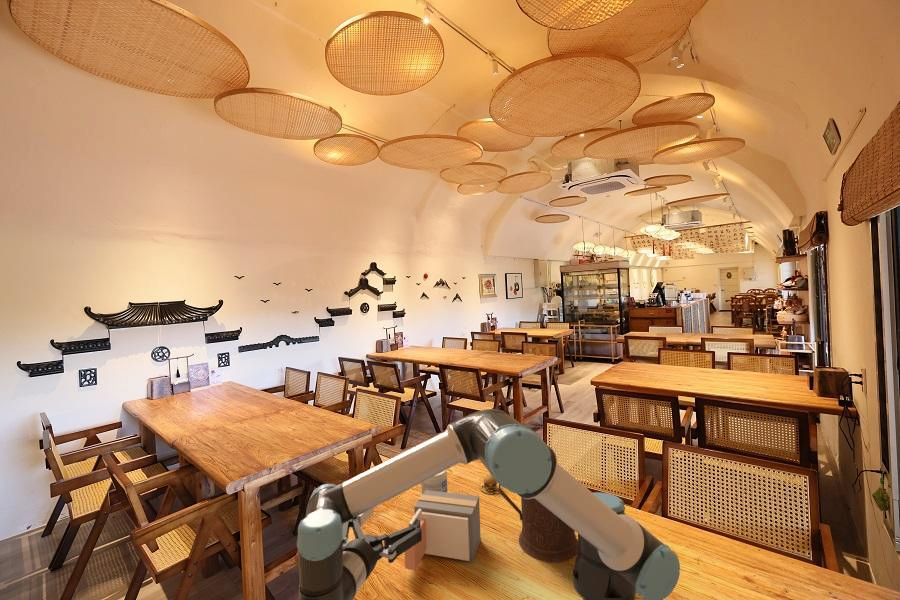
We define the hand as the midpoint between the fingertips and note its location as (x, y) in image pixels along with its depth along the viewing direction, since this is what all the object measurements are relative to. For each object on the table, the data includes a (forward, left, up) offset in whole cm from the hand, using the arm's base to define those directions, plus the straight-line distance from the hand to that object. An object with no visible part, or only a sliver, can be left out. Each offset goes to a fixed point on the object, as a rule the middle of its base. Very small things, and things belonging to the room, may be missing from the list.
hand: (395, 510), depth 97 cm
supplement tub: (+23, -33, -23) cm, 46 cm away
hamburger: (+18, -58, -23) cm, 65 cm away
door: (0, -14, -22) cm, 26 cm away
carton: (+5, -23, -23) cm, 32 cm away
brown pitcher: (-14, -44, -23) cm, 51 cm away
